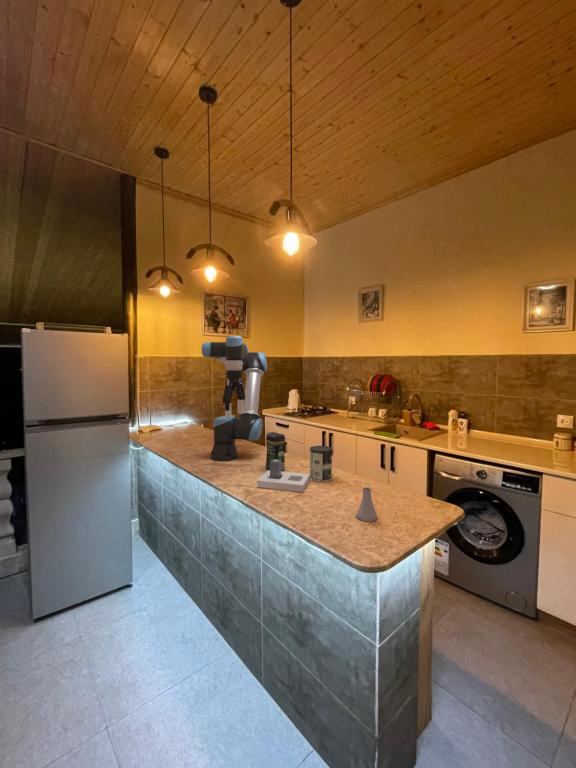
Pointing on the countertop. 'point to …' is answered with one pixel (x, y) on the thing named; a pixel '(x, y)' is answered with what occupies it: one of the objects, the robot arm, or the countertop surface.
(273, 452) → the coffee jar
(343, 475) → the countertop surface
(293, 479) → the outlet plate
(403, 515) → the countertop surface
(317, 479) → the coffee can
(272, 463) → the cylinder
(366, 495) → the flask
